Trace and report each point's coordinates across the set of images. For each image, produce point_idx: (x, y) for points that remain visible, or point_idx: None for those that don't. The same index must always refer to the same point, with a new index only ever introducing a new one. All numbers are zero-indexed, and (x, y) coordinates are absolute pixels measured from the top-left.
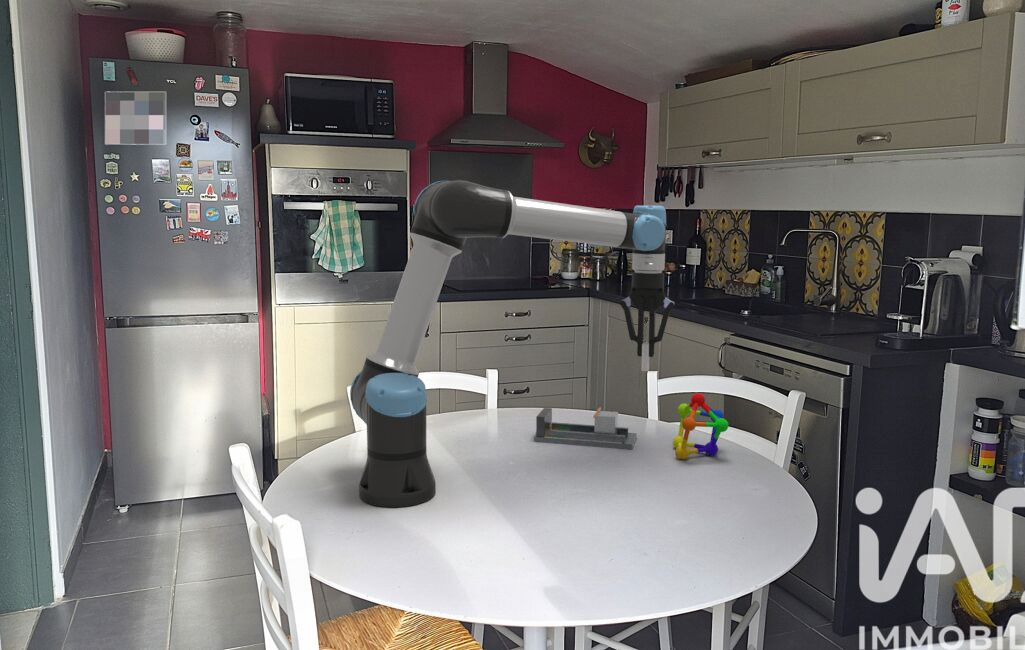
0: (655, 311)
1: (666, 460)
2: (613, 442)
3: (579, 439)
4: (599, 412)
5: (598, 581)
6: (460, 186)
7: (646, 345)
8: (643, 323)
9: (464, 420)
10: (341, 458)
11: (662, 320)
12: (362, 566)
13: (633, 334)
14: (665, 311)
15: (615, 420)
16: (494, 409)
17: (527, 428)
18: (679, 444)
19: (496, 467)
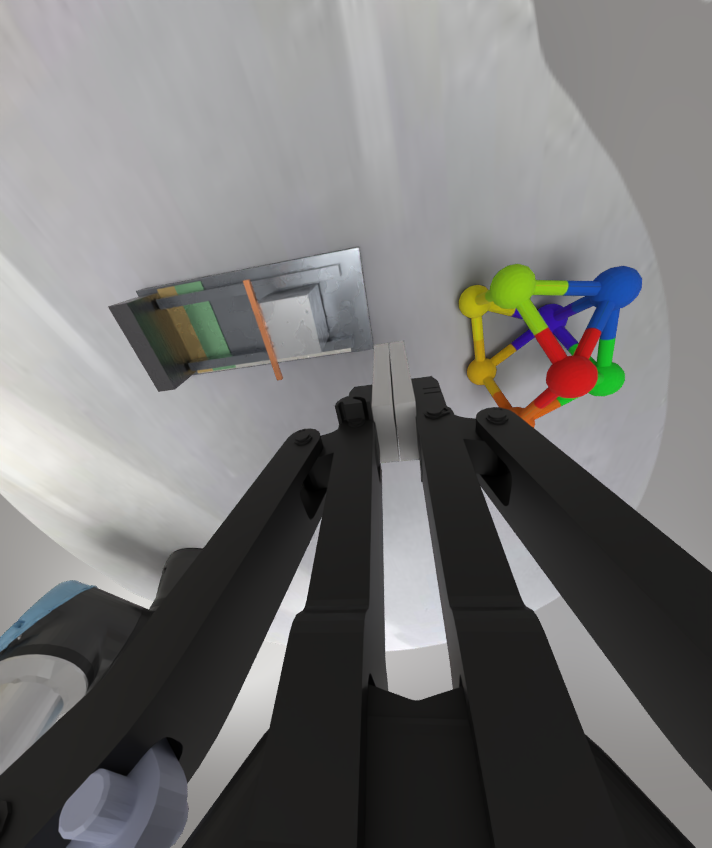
0: (543, 655)
1: (448, 384)
2: (333, 353)
3: (265, 362)
4: (266, 322)
5: (424, 626)
6: None
7: (405, 456)
8: (378, 551)
9: None
10: (62, 518)
11: (580, 610)
12: (283, 636)
13: (321, 504)
14: (692, 745)
15: (322, 345)
16: None
17: (103, 284)
18: (476, 332)
19: (228, 493)
